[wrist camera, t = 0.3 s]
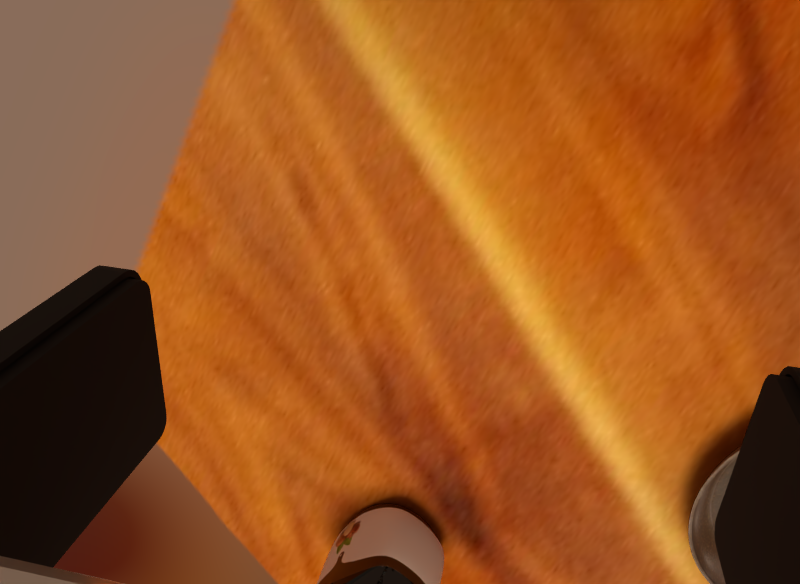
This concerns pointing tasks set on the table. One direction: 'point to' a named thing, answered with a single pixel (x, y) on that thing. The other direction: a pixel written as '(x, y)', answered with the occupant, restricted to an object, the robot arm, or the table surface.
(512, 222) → the table surface
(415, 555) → the spread jar
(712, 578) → the plant saucer
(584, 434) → the table surface
